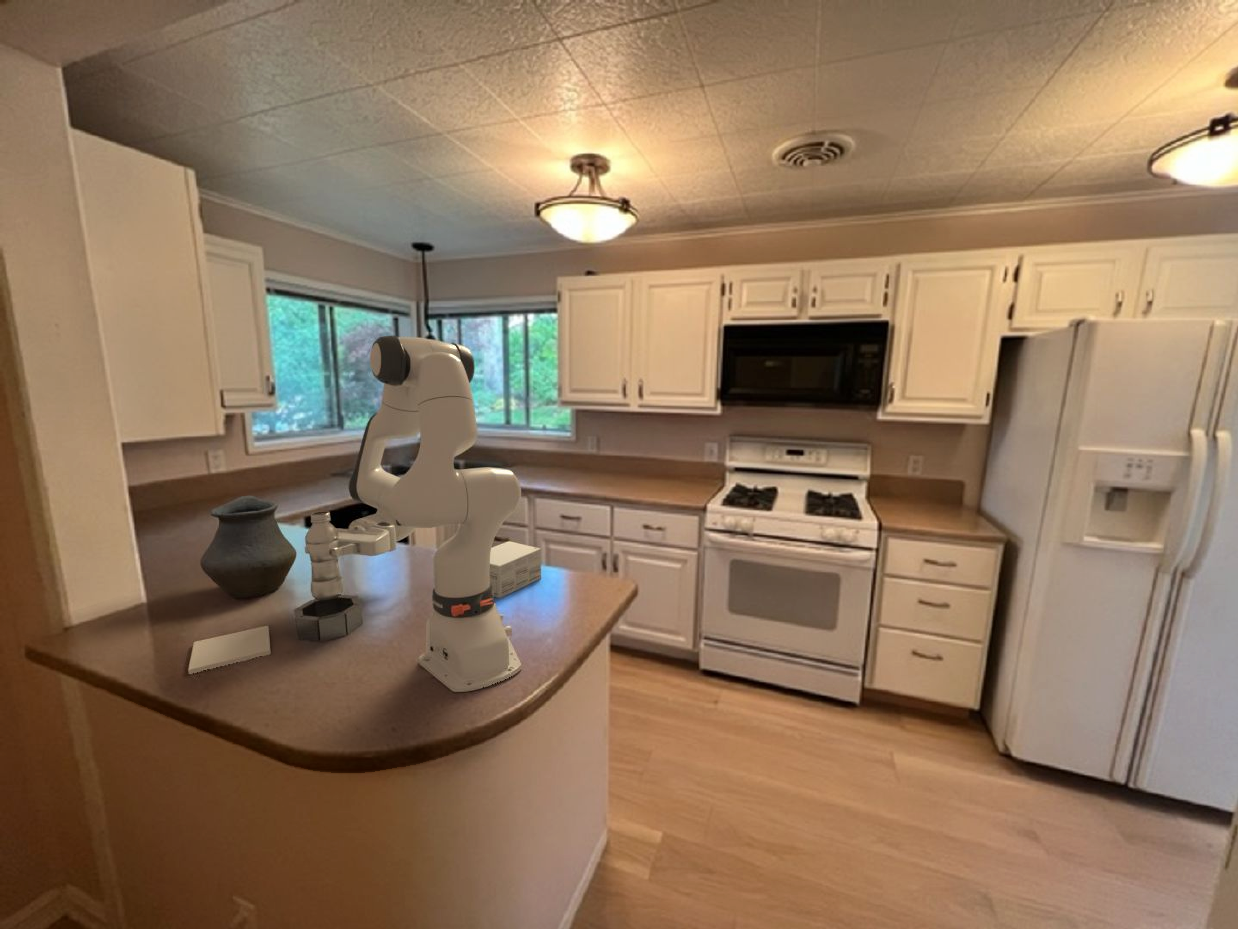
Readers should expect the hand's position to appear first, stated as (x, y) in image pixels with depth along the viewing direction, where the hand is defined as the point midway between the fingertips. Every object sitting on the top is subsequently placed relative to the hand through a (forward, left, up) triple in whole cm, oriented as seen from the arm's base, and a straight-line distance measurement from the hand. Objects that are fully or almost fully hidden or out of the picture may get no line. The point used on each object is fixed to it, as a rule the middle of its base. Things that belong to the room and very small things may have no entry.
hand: (320, 551), depth 112 cm
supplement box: (+3, -45, -19) cm, 49 cm away
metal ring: (+1, -1, -19) cm, 19 cm away
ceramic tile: (+1, +17, -19) cm, 25 cm away
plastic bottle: (0, -1, -12) cm, 12 cm away
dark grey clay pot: (+36, +13, -19) cm, 42 cm away
